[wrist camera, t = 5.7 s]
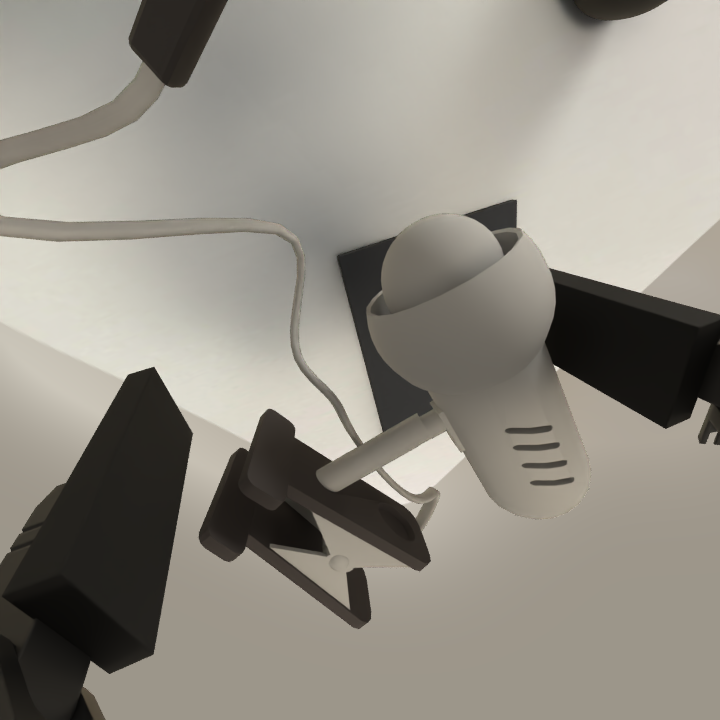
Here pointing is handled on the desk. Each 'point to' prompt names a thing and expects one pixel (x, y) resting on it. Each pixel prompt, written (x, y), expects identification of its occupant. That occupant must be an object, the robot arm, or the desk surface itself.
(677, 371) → the robot arm
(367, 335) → the desk mat
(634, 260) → the desk surface
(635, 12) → the cola bottle
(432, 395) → the clip-on lamp
